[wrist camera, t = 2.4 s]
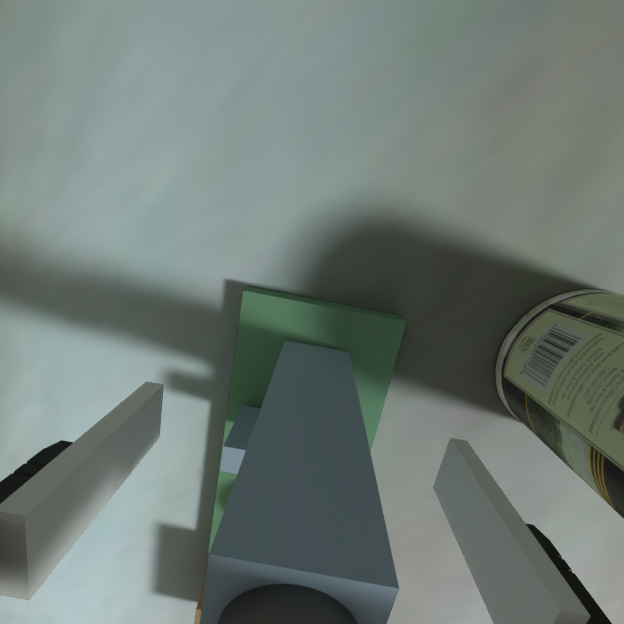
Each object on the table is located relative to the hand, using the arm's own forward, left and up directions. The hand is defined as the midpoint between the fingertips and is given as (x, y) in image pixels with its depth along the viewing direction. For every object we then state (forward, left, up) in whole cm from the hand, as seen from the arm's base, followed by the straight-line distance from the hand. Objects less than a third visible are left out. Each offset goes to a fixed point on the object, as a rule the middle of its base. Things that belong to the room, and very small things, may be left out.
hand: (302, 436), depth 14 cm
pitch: (+6, 0, -7) cm, 9 cm away
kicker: (+1, 0, -6) cm, 6 cm away
